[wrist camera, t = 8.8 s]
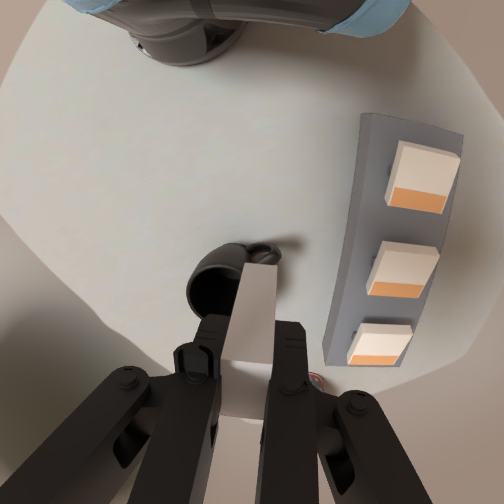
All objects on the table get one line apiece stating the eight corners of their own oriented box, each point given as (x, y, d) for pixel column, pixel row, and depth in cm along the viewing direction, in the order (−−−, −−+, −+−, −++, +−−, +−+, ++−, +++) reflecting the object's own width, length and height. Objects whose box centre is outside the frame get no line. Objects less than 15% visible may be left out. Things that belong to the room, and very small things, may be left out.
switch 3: (360, 318, 38) (362, 333, 36) (409, 320, 38) (413, 335, 36) (346, 350, 43) (347, 364, 41) (391, 351, 42) (393, 365, 40)
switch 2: (381, 236, 34) (385, 251, 32) (433, 242, 33) (440, 257, 31) (364, 280, 38) (367, 295, 36) (413, 284, 38) (418, 298, 36)
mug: (298, 253, 43) (302, 288, 34) (229, 297, 46) (217, 338, 38) (261, 204, 41) (255, 229, 32) (192, 255, 44) (171, 289, 36)
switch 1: (397, 137, 29) (404, 146, 28) (451, 150, 29) (461, 159, 27) (382, 194, 34) (387, 205, 32) (434, 202, 34) (441, 214, 32)
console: (361, 113, 35) (373, 113, 30) (446, 132, 34) (467, 136, 29) (322, 344, 48) (325, 367, 43) (393, 346, 48) (402, 369, 43)
